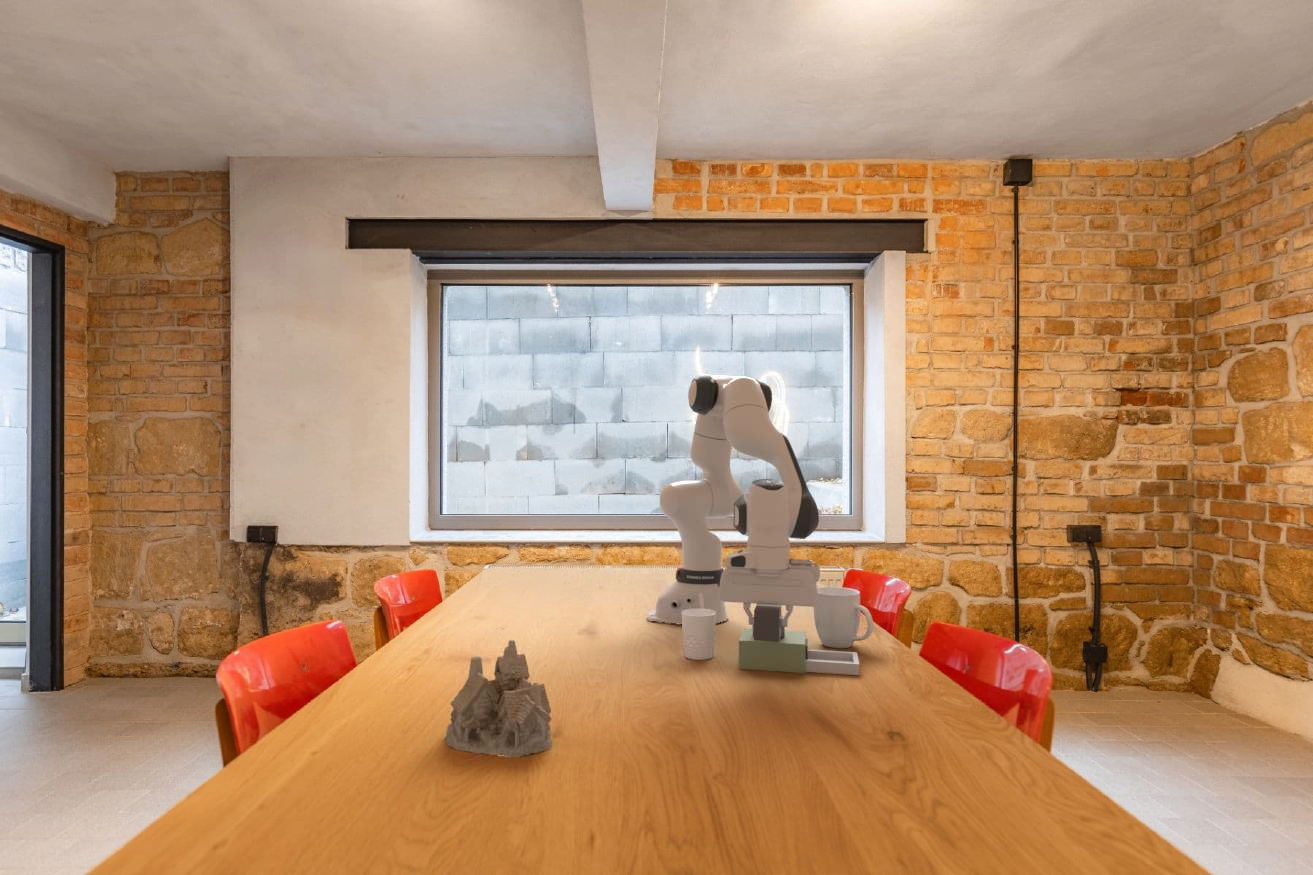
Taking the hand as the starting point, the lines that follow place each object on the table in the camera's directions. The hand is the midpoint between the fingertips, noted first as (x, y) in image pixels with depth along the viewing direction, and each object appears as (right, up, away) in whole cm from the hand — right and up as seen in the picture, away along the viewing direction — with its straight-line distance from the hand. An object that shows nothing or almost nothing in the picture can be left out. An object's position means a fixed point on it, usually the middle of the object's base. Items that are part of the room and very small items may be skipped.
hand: (768, 625), depth 143 cm
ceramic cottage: (-48, -10, -31) cm, 59 cm away
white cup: (-13, -11, +15) cm, 23 cm away
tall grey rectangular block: (0, -2, 0) cm, 2 cm away
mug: (+21, -12, +24) cm, 34 cm away
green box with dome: (+8, -11, +8) cm, 16 cm away
